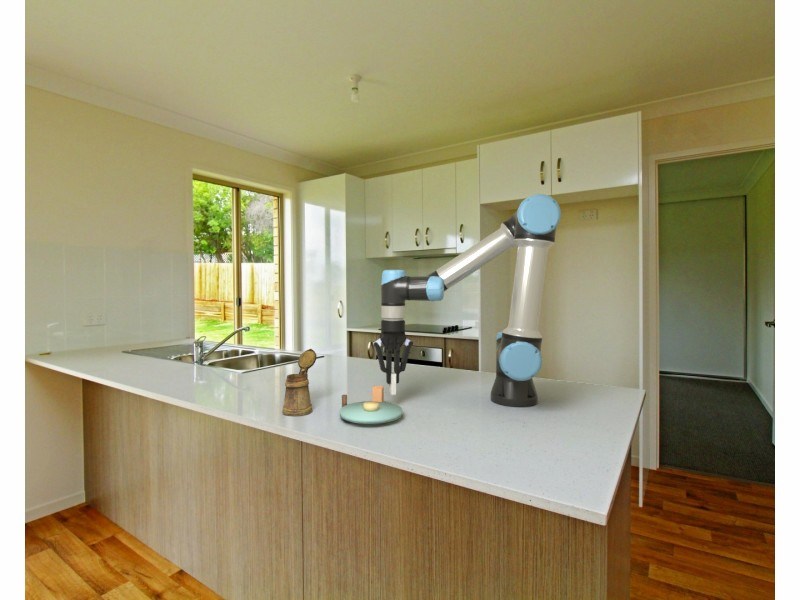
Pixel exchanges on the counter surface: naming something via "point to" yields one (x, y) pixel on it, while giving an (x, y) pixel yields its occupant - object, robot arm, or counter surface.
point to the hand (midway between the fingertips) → (392, 393)
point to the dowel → (344, 400)
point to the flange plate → (370, 416)
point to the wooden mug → (299, 387)
